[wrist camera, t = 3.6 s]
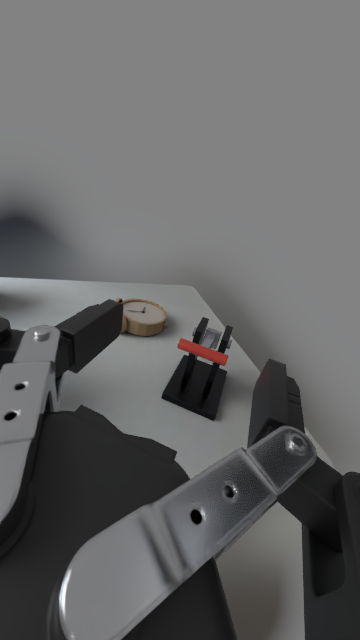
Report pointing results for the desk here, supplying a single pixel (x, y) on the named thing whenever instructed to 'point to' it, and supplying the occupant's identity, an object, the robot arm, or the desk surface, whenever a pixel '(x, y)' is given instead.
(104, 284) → the desk surface
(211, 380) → the switch bracket
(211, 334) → the lever
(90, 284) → the desk surface
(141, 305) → the alarm clock
